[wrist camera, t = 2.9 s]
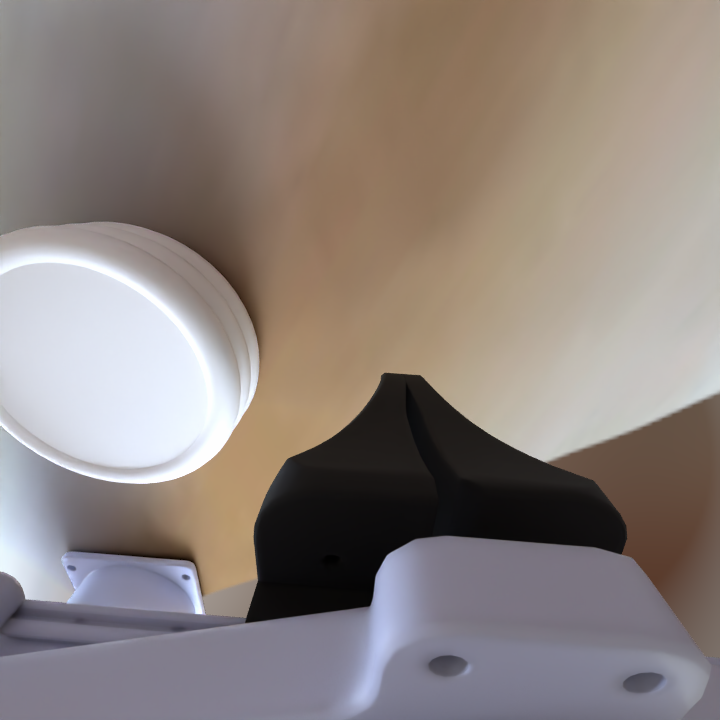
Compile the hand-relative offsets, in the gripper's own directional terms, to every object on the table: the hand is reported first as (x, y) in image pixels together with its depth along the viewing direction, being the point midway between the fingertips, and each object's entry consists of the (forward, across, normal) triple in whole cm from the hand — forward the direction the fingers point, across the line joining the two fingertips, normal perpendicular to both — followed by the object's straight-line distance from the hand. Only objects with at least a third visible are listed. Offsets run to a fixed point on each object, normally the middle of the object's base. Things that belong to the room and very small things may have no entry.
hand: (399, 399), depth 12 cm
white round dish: (+3, +11, 0) cm, 11 cm away
